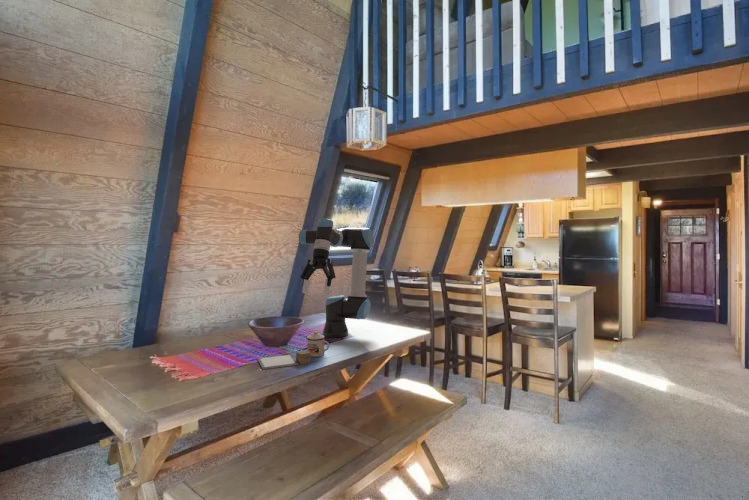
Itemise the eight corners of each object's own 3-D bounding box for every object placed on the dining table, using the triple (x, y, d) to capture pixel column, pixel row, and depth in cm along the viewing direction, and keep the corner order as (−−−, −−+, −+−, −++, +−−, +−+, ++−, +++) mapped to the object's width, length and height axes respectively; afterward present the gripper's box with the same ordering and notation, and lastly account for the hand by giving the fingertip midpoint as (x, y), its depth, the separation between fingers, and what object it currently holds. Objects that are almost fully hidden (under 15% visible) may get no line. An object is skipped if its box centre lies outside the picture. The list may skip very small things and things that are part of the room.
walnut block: (296, 362, 196) (296, 351, 196) (305, 360, 199) (305, 350, 199) (300, 364, 192) (300, 354, 192) (310, 363, 195) (310, 352, 195)
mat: (257, 359, 200) (257, 357, 200) (290, 355, 206) (290, 354, 206) (262, 369, 185) (262, 367, 185) (298, 364, 192) (298, 363, 192)
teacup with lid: (303, 355, 206) (303, 332, 205) (312, 351, 214) (312, 328, 214) (324, 358, 201) (324, 335, 201) (333, 353, 210) (333, 330, 209)
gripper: (297, 249, 204) (290, 291, 198) (336, 246, 190) (330, 291, 184) (307, 253, 210) (301, 294, 204) (346, 250, 196) (340, 294, 190)
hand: (315, 293), depth 194 cm, fingers open, 13 cm apart
